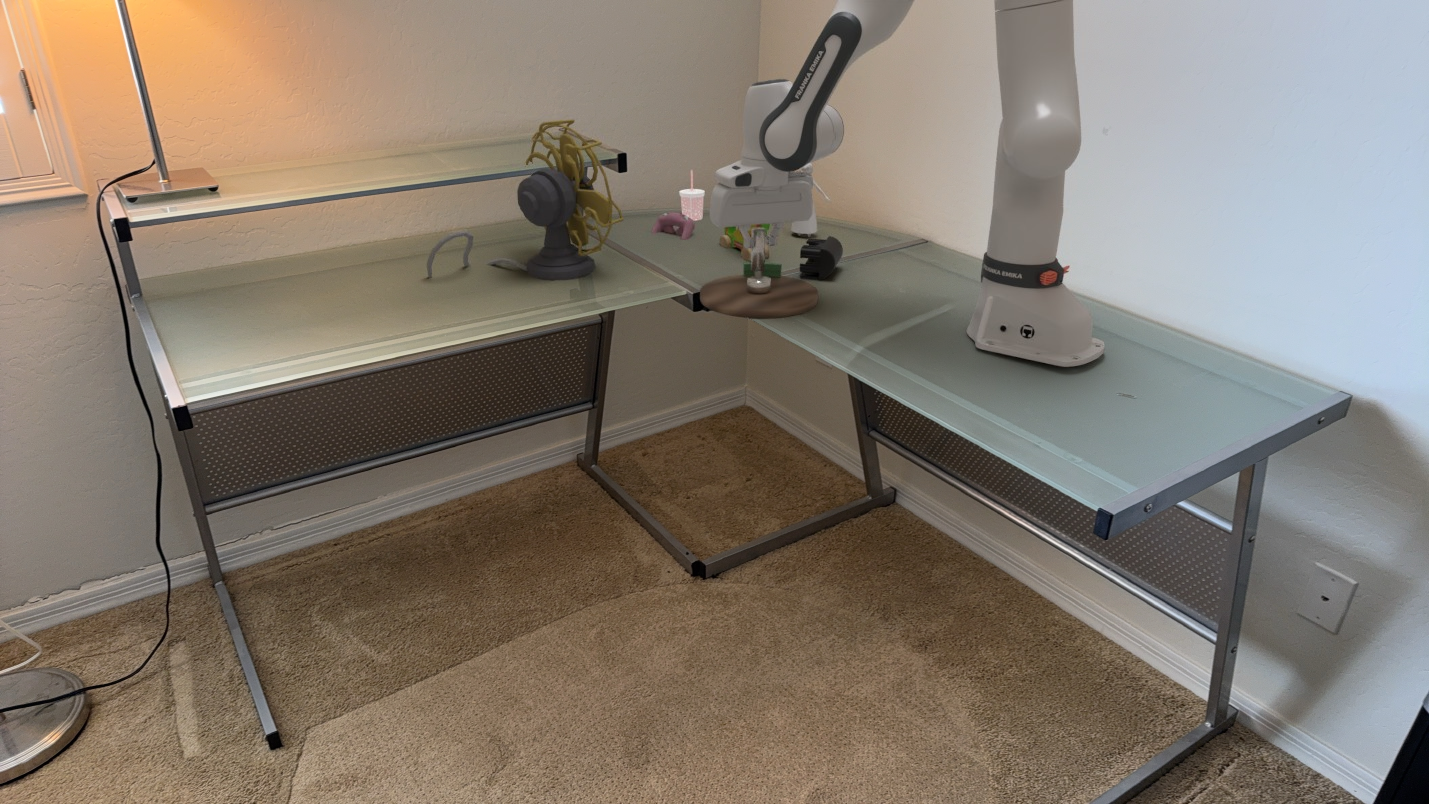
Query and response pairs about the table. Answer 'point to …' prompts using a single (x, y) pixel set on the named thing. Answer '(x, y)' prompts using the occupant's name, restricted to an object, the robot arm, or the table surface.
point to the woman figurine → (811, 224)
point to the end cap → (820, 258)
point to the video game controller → (674, 224)
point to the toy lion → (741, 240)
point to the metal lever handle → (758, 264)
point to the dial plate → (759, 295)
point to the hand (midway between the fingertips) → (760, 246)
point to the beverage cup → (692, 202)
